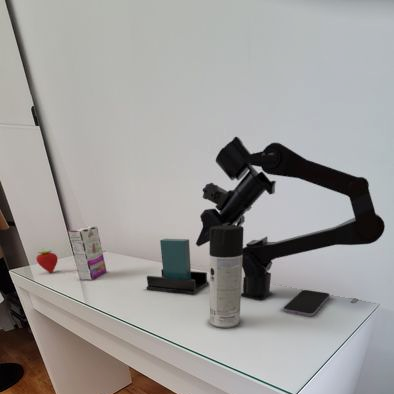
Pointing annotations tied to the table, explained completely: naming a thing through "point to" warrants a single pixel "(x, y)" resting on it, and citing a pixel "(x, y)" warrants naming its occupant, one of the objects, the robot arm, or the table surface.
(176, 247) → the book
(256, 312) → the table surface
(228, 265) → the spray can
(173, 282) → the black rack
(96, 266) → the candy bar box
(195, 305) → the table surface
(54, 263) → the strawberry
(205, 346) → the table surface
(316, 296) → the smartphone
